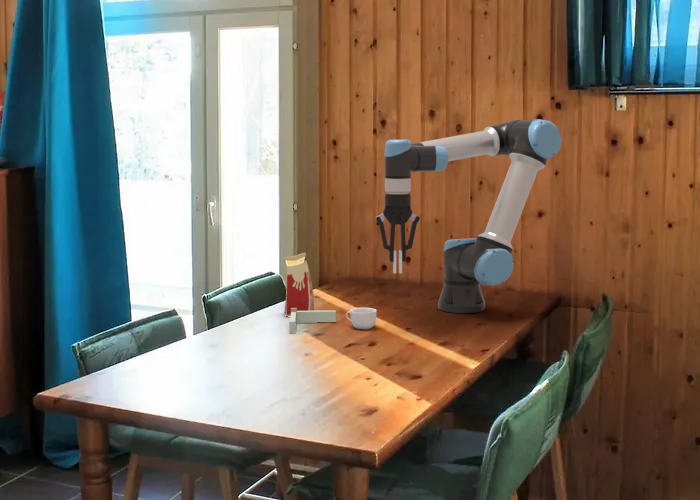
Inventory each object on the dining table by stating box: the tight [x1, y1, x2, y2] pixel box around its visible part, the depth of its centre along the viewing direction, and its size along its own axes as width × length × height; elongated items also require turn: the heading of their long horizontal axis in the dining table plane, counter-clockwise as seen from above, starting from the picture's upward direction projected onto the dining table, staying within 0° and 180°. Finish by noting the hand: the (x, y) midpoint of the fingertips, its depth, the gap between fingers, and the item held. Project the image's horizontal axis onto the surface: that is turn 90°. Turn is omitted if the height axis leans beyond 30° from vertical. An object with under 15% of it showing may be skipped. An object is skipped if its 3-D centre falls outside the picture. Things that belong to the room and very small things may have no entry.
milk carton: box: [282, 252, 316, 317], centre depth 283 cm, size 9×9×20 cm
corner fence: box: [289, 308, 337, 334], centre depth 266 cm, size 14×15×4 cm
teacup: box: [345, 307, 377, 330], centre depth 266 cm, size 10×8×5 cm
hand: (397, 272), depth 264 cm, fingers closed
